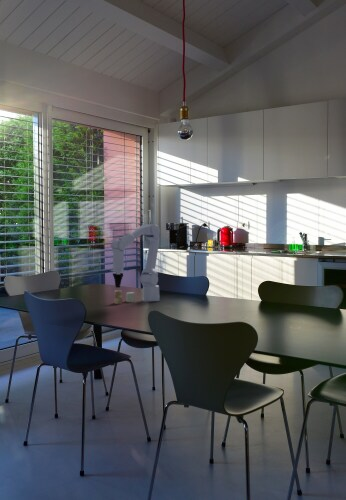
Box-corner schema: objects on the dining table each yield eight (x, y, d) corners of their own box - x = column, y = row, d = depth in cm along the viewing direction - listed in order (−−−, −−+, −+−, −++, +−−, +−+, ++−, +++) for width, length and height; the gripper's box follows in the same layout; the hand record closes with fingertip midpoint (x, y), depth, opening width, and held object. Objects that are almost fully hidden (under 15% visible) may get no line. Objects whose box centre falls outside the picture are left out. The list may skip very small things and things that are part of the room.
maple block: (121, 302, 295) (121, 290, 294) (122, 303, 291) (121, 291, 290) (114, 302, 294) (114, 290, 294) (115, 303, 290) (114, 291, 290)
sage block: (132, 300, 301) (132, 292, 300) (134, 301, 297) (134, 292, 297) (126, 301, 299) (125, 292, 299) (128, 302, 296) (128, 293, 295)
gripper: (110, 261, 289) (110, 285, 289) (111, 262, 274) (110, 287, 275) (123, 261, 290) (122, 285, 290) (124, 262, 275) (123, 288, 275)
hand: (117, 286), depth 282 cm, fingers open, 7 cm apart
